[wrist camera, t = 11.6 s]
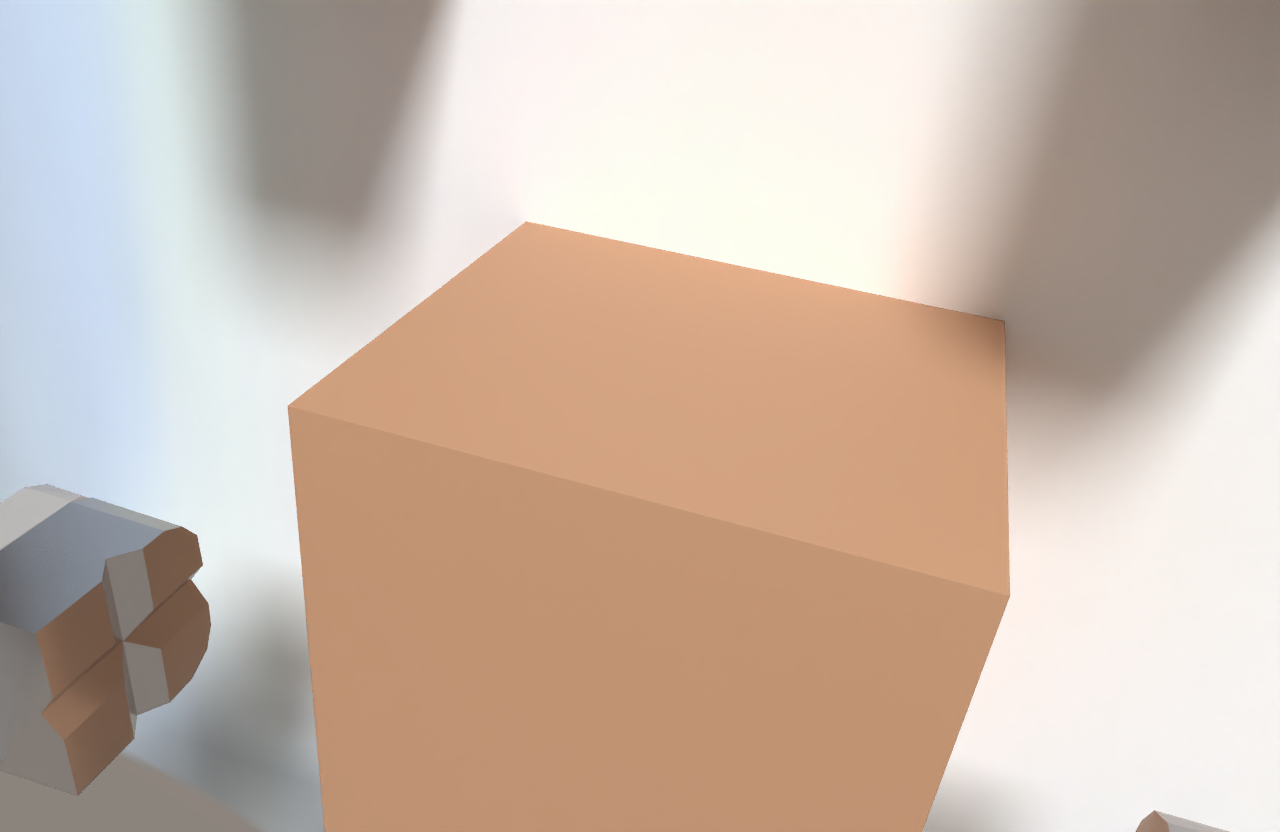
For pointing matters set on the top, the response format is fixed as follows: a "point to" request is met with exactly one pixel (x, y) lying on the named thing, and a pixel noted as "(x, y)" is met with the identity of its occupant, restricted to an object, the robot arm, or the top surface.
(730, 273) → the terracotta block
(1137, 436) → the top surface
